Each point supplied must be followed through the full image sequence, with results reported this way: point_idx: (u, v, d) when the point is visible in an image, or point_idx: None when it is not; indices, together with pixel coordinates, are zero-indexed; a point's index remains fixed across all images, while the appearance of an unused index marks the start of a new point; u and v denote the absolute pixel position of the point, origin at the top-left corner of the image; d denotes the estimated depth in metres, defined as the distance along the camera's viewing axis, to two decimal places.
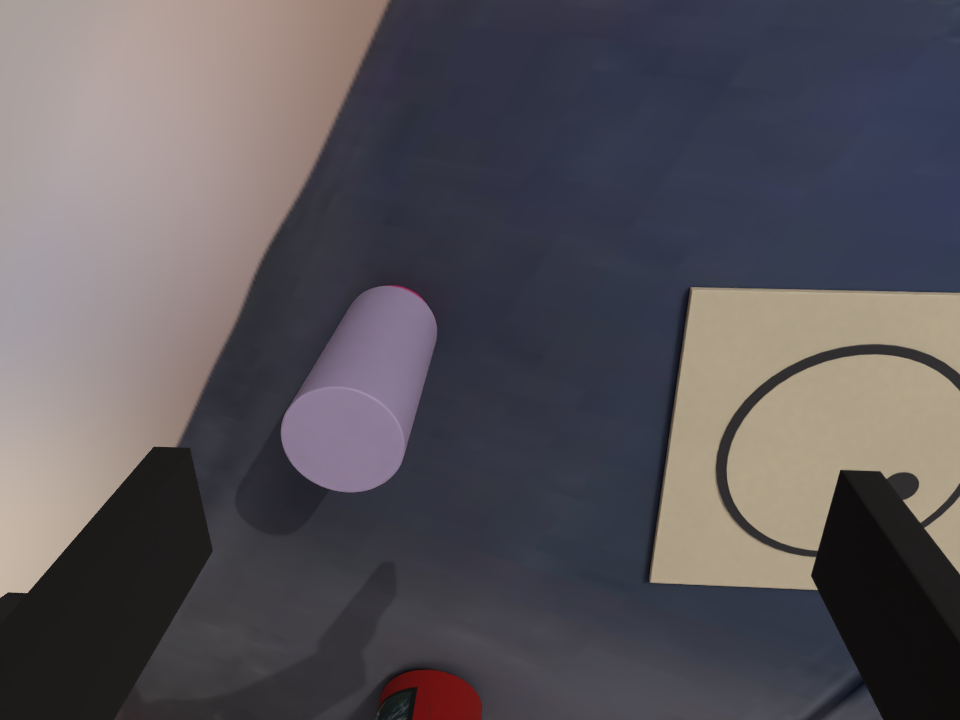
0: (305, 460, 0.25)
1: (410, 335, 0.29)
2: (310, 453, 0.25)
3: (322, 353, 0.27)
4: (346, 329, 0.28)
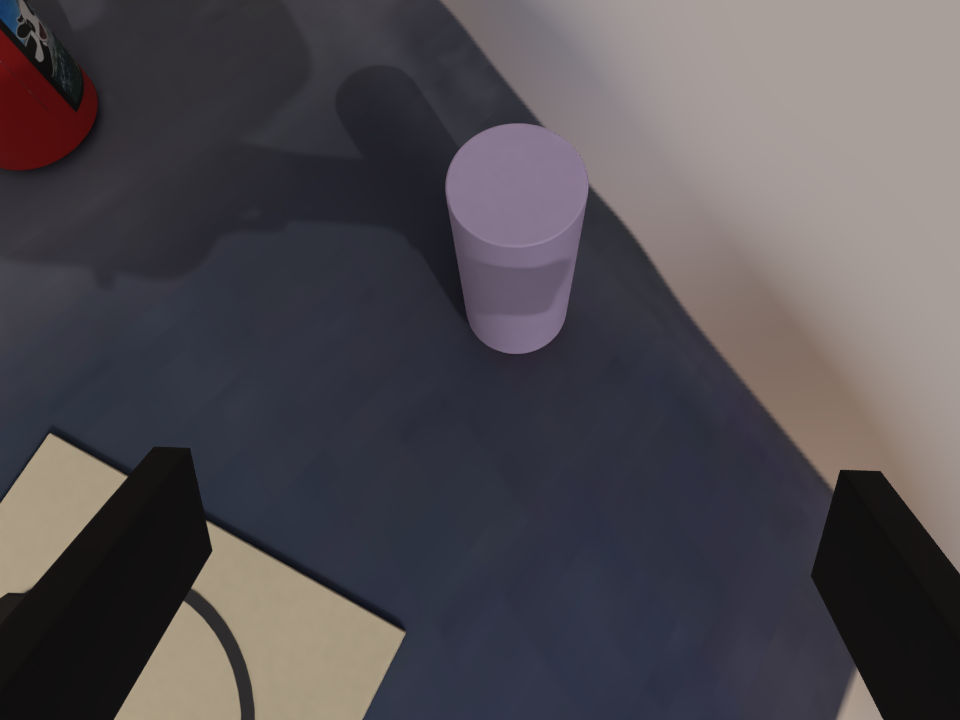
0: (512, 137, 0.22)
1: (533, 317, 0.26)
2: (518, 146, 0.22)
3: None
4: None
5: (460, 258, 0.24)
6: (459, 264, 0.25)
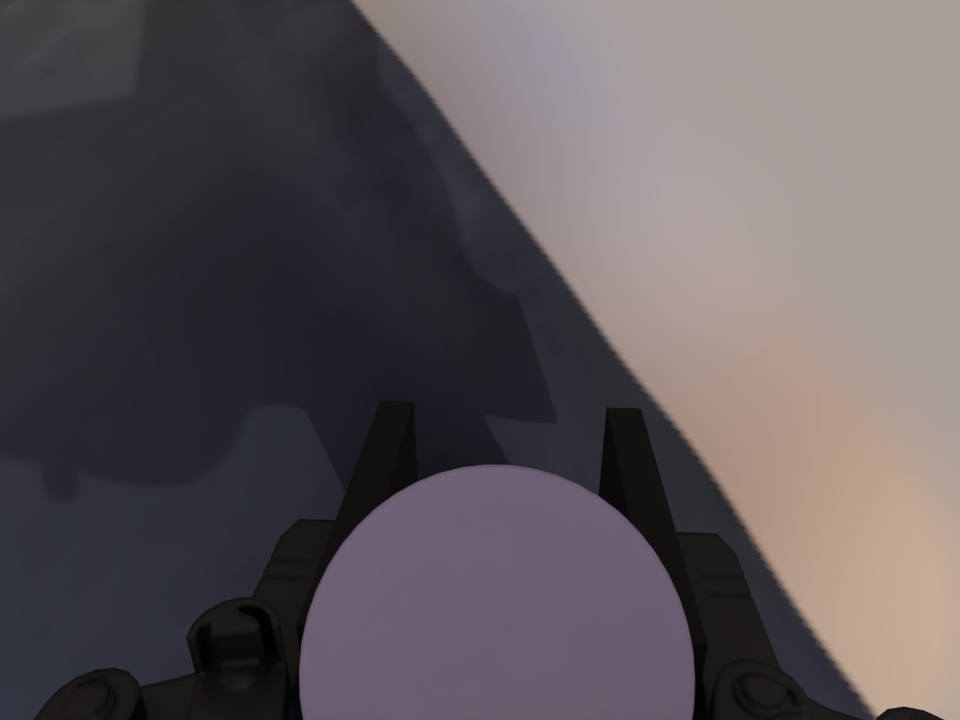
0: (486, 512, 0.08)
1: None
2: (500, 540, 0.08)
3: None
4: None
5: None
6: None
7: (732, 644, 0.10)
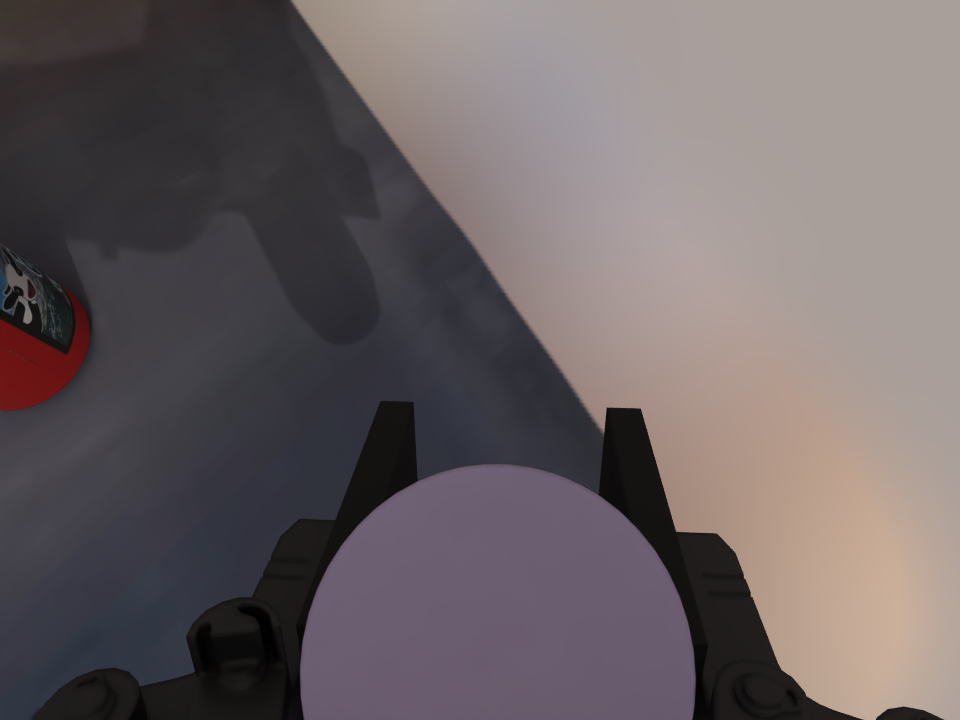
0: (487, 512, 0.08)
1: None
2: (501, 539, 0.08)
3: None
4: None
5: None
6: None
7: (732, 644, 0.10)
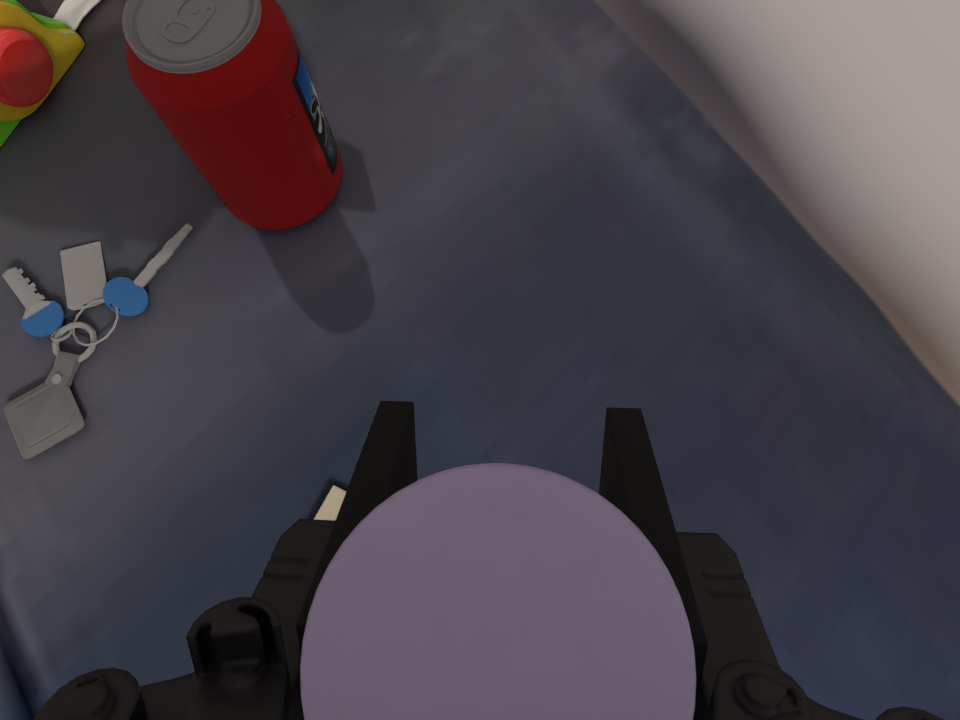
0: (488, 511, 0.08)
1: None
2: (501, 538, 0.08)
3: None
4: None
5: None
6: None
7: (732, 643, 0.10)
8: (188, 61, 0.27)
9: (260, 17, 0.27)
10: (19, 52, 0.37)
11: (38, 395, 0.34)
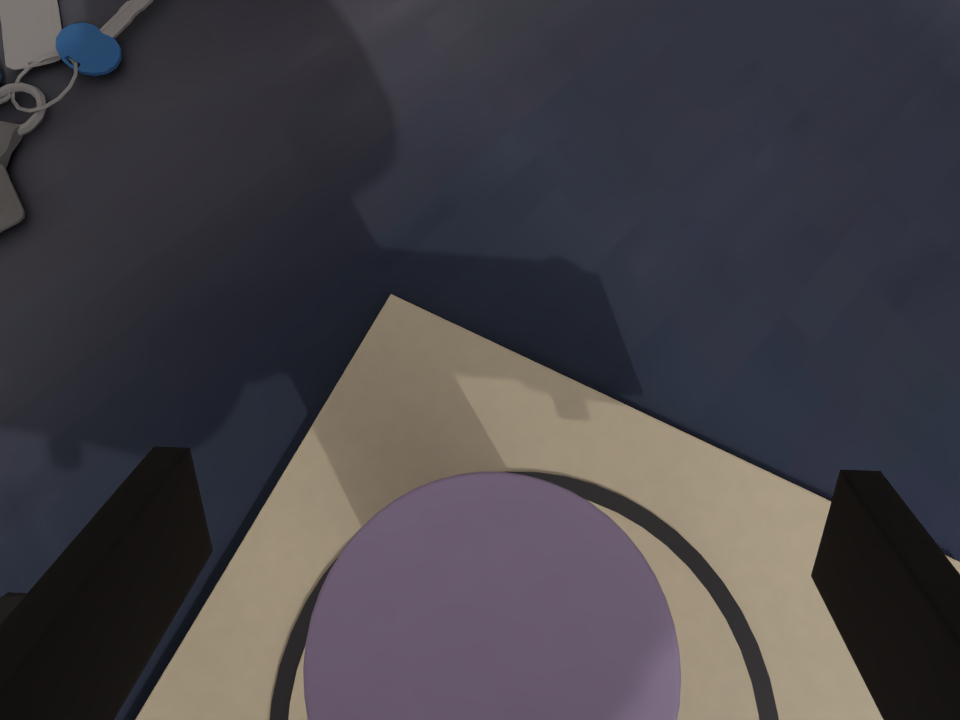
0: (483, 517, 0.09)
1: None
2: (496, 544, 0.08)
3: None
4: None
5: None
6: None
7: None
8: None
9: None
10: None
11: None
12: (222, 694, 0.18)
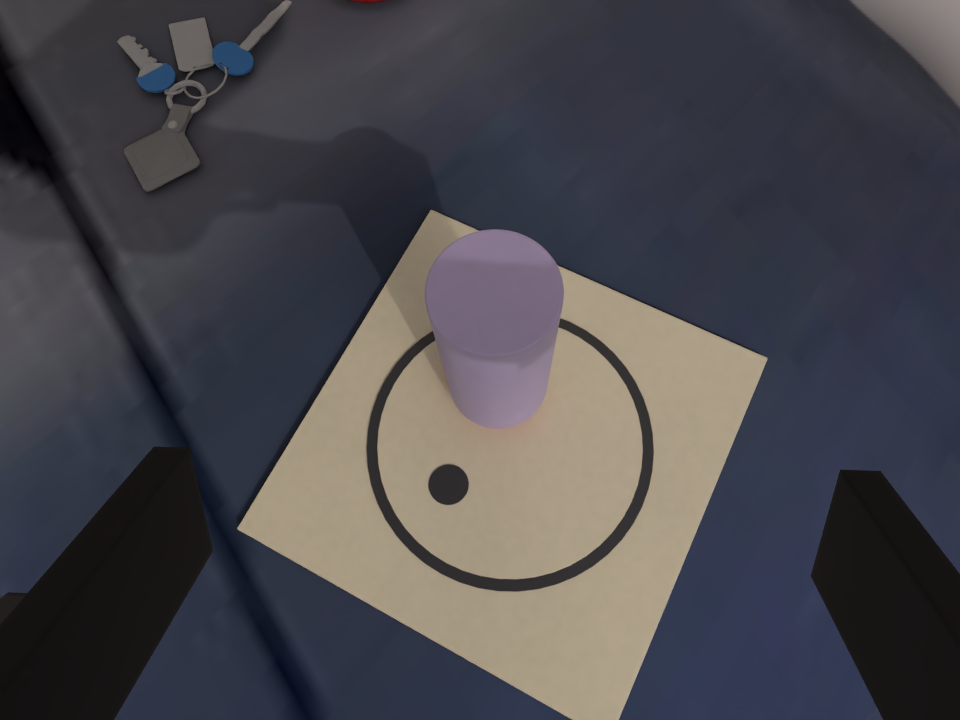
0: (491, 244, 0.22)
1: (512, 403, 0.27)
2: (496, 253, 0.22)
3: None
4: None
5: (440, 352, 0.24)
6: (440, 355, 0.25)
7: None
8: None
9: None
10: None
11: (156, 138, 0.37)
12: (339, 427, 0.32)
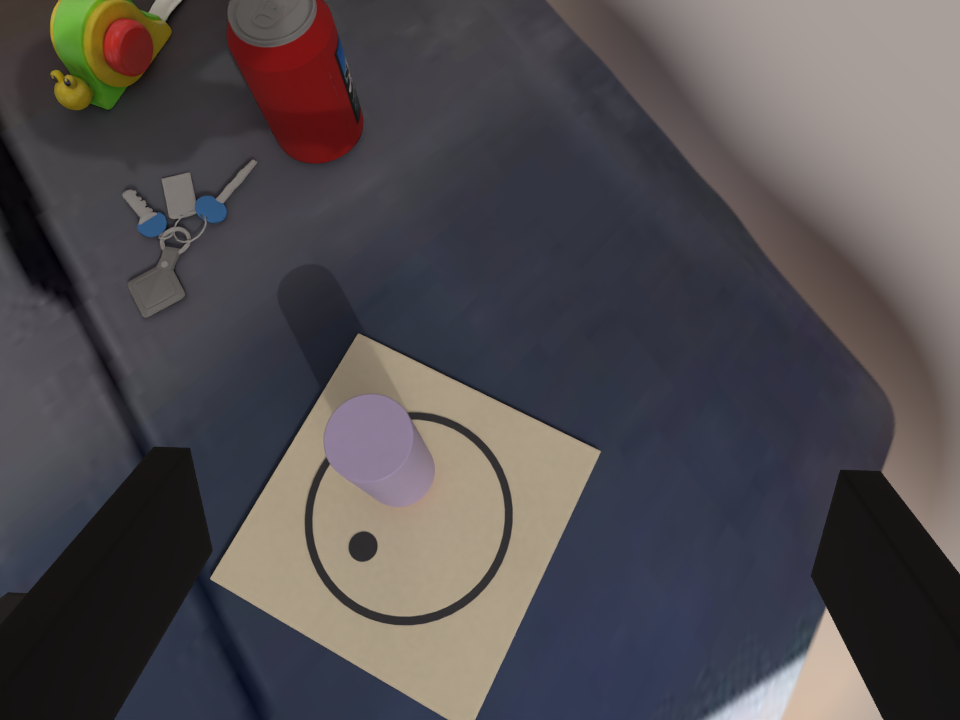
0: (368, 404, 0.34)
1: (397, 497, 0.38)
2: (371, 410, 0.34)
3: (421, 439, 0.37)
4: (425, 459, 0.38)
5: None
6: None
7: None
8: (271, 39, 0.41)
9: (316, 12, 0.42)
10: (133, 36, 0.52)
11: (152, 275, 0.49)
12: (285, 503, 0.44)
